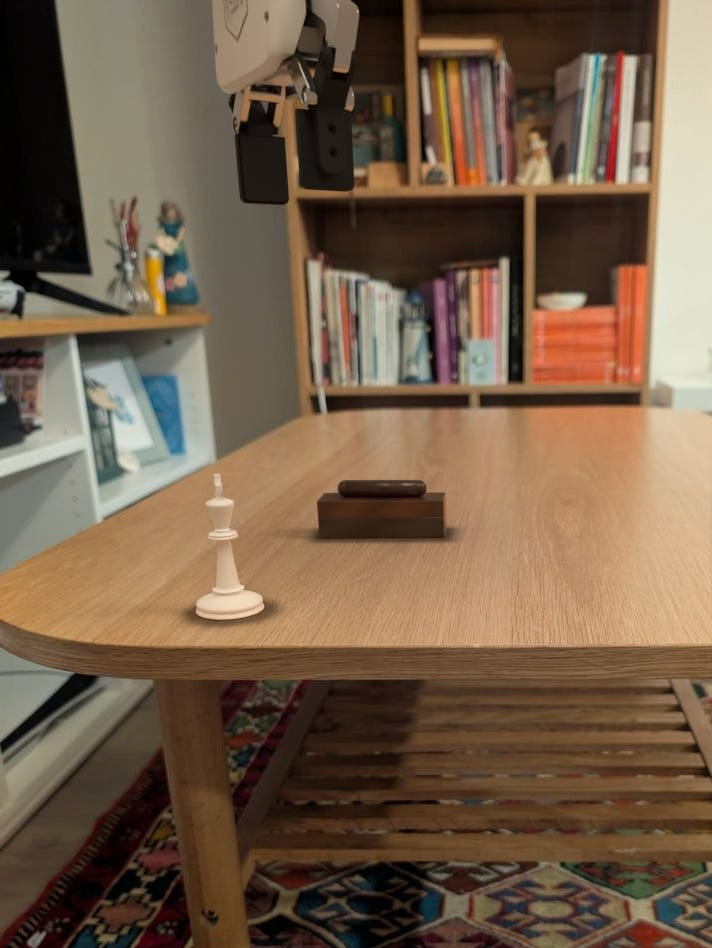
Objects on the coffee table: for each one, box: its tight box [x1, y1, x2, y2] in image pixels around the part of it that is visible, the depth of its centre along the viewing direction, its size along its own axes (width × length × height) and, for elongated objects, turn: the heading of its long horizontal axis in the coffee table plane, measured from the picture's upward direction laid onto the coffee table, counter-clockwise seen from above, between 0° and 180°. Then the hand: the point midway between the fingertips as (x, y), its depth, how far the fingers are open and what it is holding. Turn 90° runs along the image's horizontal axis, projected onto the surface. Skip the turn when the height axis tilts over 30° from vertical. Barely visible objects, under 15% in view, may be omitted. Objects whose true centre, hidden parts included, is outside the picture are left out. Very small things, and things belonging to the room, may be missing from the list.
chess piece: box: [195, 473, 265, 621], centre depth 68 cm, size 5×5×10 cm
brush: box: [316, 479, 447, 539], centre depth 91 cm, size 12×4×5 cm, turn 89°
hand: (294, 197), depth 58 cm, fingers open, 9 cm apart
